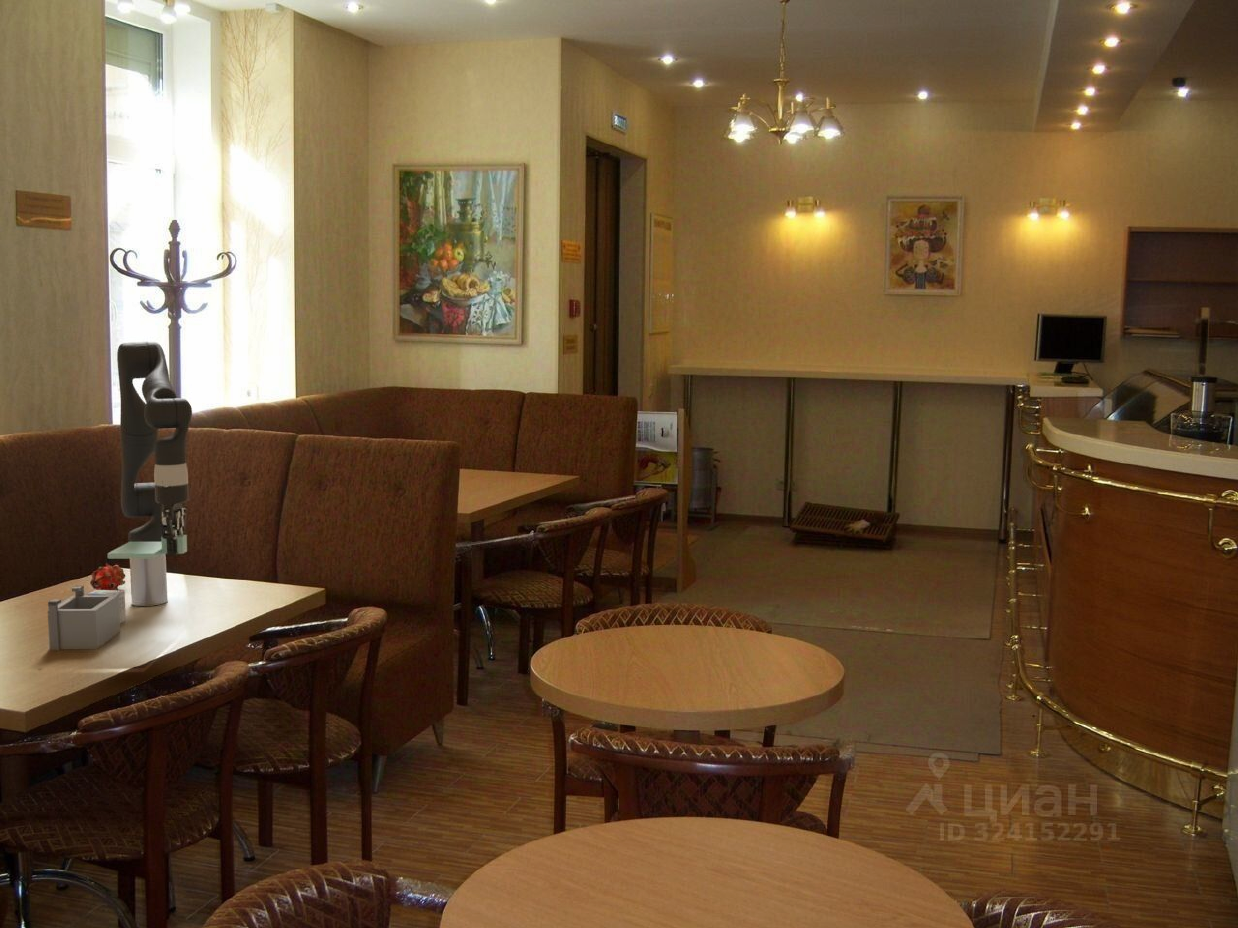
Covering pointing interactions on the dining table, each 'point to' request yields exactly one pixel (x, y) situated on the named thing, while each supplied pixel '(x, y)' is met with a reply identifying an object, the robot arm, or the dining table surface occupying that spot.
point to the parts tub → (83, 620)
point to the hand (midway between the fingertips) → (174, 553)
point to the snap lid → (147, 549)
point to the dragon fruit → (107, 578)
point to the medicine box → (121, 600)
